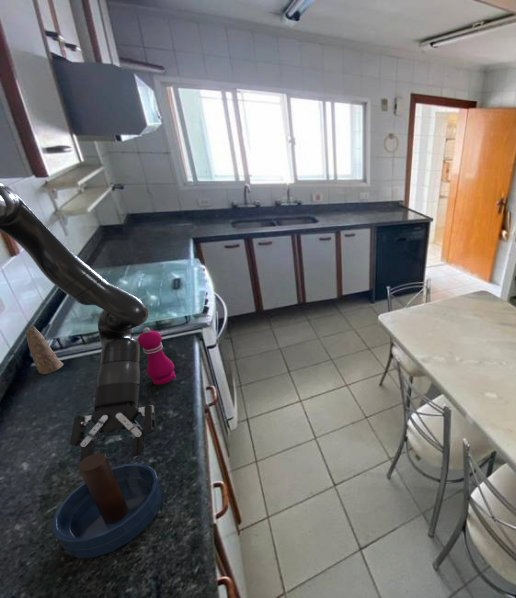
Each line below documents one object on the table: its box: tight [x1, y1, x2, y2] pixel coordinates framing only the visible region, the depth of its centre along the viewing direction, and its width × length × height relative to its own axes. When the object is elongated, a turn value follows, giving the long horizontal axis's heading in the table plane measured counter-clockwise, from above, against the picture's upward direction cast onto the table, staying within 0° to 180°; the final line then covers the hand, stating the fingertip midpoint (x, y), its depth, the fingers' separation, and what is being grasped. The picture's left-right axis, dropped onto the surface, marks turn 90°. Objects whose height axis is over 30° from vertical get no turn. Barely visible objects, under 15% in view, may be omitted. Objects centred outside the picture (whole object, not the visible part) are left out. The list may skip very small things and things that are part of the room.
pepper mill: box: [137, 327, 177, 386], centre depth 104 cm, size 7×7×20 cm
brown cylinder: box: [77, 452, 128, 524], centre depth 66 cm, size 4×4×16 cm
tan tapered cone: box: [25, 325, 64, 375], centre depth 104 cm, size 6×18×6 cm
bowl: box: [52, 462, 164, 559], centre depth 68 cm, size 16×16×6 cm
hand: (112, 460), depth 70 cm, fingers open, 8 cm apart
